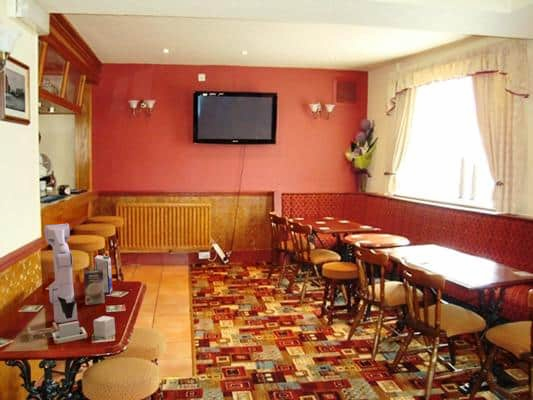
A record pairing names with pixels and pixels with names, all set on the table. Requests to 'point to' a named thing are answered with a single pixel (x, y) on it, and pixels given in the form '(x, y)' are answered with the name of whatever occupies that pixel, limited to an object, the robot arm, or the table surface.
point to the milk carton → (105, 271)
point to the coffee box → (94, 287)
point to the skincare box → (104, 326)
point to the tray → (71, 338)
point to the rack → (41, 331)
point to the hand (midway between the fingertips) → (67, 315)
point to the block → (69, 329)
